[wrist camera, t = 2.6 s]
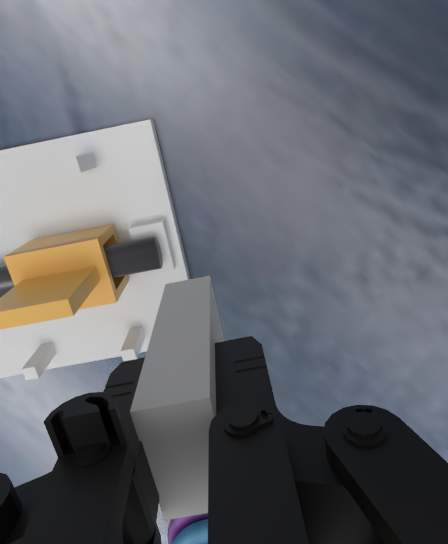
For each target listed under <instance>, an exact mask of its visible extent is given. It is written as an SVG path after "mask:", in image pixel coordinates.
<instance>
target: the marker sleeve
mask: <svg viewBox="0 0 448 544" xmlns="http://www.w3.org/2000/svg"><path fill="white" fill-rule="evenodd" d="M116 244H119V242H118V239H117V235H116V232H115V228H114V225H113V224H109V225H104V226H99V227H94V228H89V229H84V230H78V231H73V232H68V233H63V234H58V235H53V236H48V237H43V238H38V239H33V240H30V241H29V242H27V243H25V244H24V245H22V246H21V247H19V248H17V249H16V250H14V251H13V252H11V253H9V254H8V255H6V256H4V260H5V262H6V265H7V268H8V270H9V273H10V275H11V278H12V281H13V283H14V287H13V288H12V289H11V290H9V291H8V292H7V293H6V294H4V295H3V296H2V297H1V298H0V330H1V329H7V328H12V327H17V326H23V325H28V324H33V323H39V322H44V321H49V320H55V319H60V318H65V317H71V316H74V315H75V313H76V312H77V311H78V310H80V309H85V308H90V307H96V306H101V305H106V304H112V303H117V301H118V299H119V298H120V296H121V294H122V292H123V290H124V289H125V287H126V285H127V283H128V282H129V277H128V275H125V276H119V277H114V278H112V275H111V271H110V268H109V265H108V261H107V258H106V255H105V251H104V248H103V247H106V246H111V245H116Z"/></svg>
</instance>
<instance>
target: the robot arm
mask: <svg viewBox="0 0 448 544" xmlns="http://www.w3.org/2000/svg"><path fill="white" fill-rule="evenodd" d="M105 387H106V389H104V391H103V393H102V392H97V393H88V394H84V395H81V396H77V397H75V398H73V399H71V400H69V401H67V402H65V403H63V404H61V405H60V406H59V407H57V408H56V409H55V410H54V411H52V412H51V413H50V414H49V416H48V417H47V418H46V419H45V421H44V424H45V426H46V429H47V431H48V434H49V436H50V439H51V441H52V444H53V446H54V448H55V451H56V453H57V456H58V459H57V462H56V464H55V466H54V468H53V470H52V472H50V473H48V474H46V475H44V476H41V477H39V478H36V479H34V480H32V481H29V482H27V483H24V484H22V485H20V486H17V487H15V488H14V486H13V484H12V482H11V480H10V479H9V477H8V476H7V475H6V474H3V473H0V544H161V535H160V532H159V529H158V526H157V523H156V518H157V511H158V504H160V507H161V510H162V513H163V516H164V519H165V520H170V519H176V518H182V517H187V516H193V515H199V514H205V513H208V544H448V463H447V462H446V461H445V460H444V459H443V458H442V457H441V456H440V455H439V454H438V453H437V452H435V451H434V450H433V449H432V448H431V447H430V446H429V445H428V444H427V443H426V442H425V441H424V440H423V439H421V438H420V437H419V436H418V435H417V434H416V433H415V432H414V431H413V430H412V429H411V428H410V427H408V426H407V425H406V424H405V423H404V422H403V421H402V420H401V419H400V418H399V417H397V416H396V415H394V414H392V413H391V412H389V411H388V410H385V409H382V408H379V407H375V406H369V405H355V406H350V407H345V408H342V409H341V410H339V411H337V412H335V413H333V414H332V415H331V416H330V418H329V419H328V420H327V421H326V423H325V427H322V426H309V425H303V424H299V423H296V422H293V421H291V420H289V419H287V418H286V417H284V416H283V415H282V414H281V413H280V412H279V411H278V409H277V407H276V404H275V400H274V396H273V392H272V387H271V383H270V379H269V374H268V370H267V366H266V361H265V357H264V353H263V348H262V344H260V343H259V342H258V341H257V340H256V339H254V338H253V337H252V336H250V337H244V338H239V339H234V340H228V341H224V338H223V333H222V329H221V324H220V319H219V315H218V310H217V306H216V301H215V297H214V292H213V287H212V283H211V278H210V276H205V277H200V278H195V279H189V280H184V281H179V282H174V283H169V284H165V288H164V291H163V295H162V299H161V302H160V306H159V309H158V313H157V316H156V320H155V324H154V327H153V331H152V334H151V338H150V341H149V345H148V349H147V352H146V356H145V358H140V359H134V360H129V361H124V362H122V363H121V364H120V365H119V366H118V367H117V368H116V369H115V370H114V371H113V372H112V373H111V374H110V376H109V379H108V381H107V384H106V386H105Z"/></svg>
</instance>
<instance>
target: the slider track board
mask: <svg viewBox="0 0 448 544" xmlns="http://www.w3.org/2000/svg"><path fill="white" fill-rule="evenodd" d="M109 224H113V225H114V228H115V232H116V235H117V239H118V242H119V244H116V245H111V246H106V247H103V248H104V251H105V255H106V258H107V261H108V265H109V268H110V271H111V275H112V278H114V277H119V276H125V275H128V277H129V282H128V283H127V285H126V287H125V289H124V290H123V292H122V294H121V296H120V298H119V299H118V301H117V303H112V304H106V305H101V306H96V307H90V308H85V309H80V310H78V311H77V312H76V313H75V315H74V316H71V317H65V318H60V319H55V320H49V321H44V322H39V323H33V324H28V325H23V326H17V327H12V328H7V329H1V330H0V378H3V377H8V376H14V375H19V374H23V375H24V377H25V379H26V380H32V379H37V378H39V377H40V376H41V375H42V373H43V372H44V370H47V369H52V368H58V367H63V366H69V365H74V364H80V363H85V362H91V361H96V360H102V359H107V358H113V357H118V356H122V358H123V362H124V361H129V360H134V359H138V356H139V353H140V352H146V351H147V349H148V345H149V341H150V338H151V334H152V331H153V327H154V324H155V320H156V316H157V313H158V309H159V306H160V302H161V299H162V295H163V291H164V288H165V284H169V283H174V282H179V281H184V280H189V279H190V275H189V270H188V266H187V262H186V257H185V253H184V249H183V245H182V240H181V236H180V232H179V228H178V223H177V219H176V215H175V211H174V206H173V202H172V198H171V194H170V189H169V185H168V181H167V176H166V172H165V168H164V164H163V159H162V155H161V151H160V147H159V142H158V138H157V134H156V130H155V125H154V121H153V120H152V119H149V120H145V121H140V122H135V123H130V124H125V125H120V126H116V127H111V128H106V129H101V130H96V131H92V132H87V133H82V134H77V135H72V136H67V137H63V138H58V139H53V140H48V141H43V142H38V143H34V144H29V145H24V146H19V147H14V148H10V149H5V150H0V298H1V297H2V296H3V295H4V294H6V293H7V292H8V291H9V290H11V289H12V288H13V287H14V283H13V281H12V278H11V275H10V273H9V270H8V268H7V265H6V262H5V260H4V256H6V255H8V254H9V253H11V252H13V251H14V250H16V249H17V248H19V247H21V246H22V245H24V244H25V243H27V242H29V241H30V240H33V239H38V238H43V237H48V236H53V235H58V234H63V233H68V232H73V231H78V230H84V229H89V228H94V227H99V226H104V225H109Z"/></svg>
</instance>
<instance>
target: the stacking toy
mask: <svg viewBox="0 0 448 544" xmlns="http://www.w3.org/2000/svg"><path fill="white" fill-rule="evenodd" d="M167 522H168V526H169V527H168V543H169V544H208V513H205V514H199V515H193V516H187V517H182V518H176V519H170V520H167Z"/></svg>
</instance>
